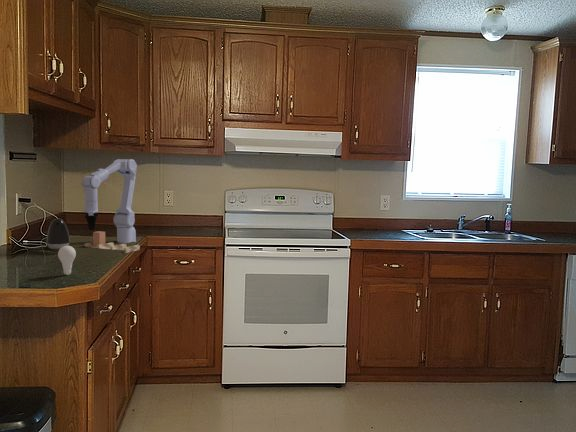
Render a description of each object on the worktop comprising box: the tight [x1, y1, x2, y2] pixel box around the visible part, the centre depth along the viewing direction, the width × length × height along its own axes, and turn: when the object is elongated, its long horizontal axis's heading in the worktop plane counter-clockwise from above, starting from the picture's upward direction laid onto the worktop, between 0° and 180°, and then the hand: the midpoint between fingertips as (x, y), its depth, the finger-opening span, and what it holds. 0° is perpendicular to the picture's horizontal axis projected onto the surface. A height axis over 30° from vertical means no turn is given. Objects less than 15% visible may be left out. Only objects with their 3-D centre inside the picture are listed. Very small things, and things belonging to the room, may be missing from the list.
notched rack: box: [84, 241, 141, 254], centre depth 246 cm, size 10×25×2 cm, turn 68°
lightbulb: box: [57, 245, 77, 276], centre depth 187 cm, size 6×6×11 cm
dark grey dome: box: [46, 217, 71, 250], centre depth 241 cm, size 10×10×15 cm
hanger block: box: [92, 230, 106, 247], centre depth 249 cm, size 4×4×7 cm
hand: (92, 229), depth 243 cm, fingers open, 7 cm apart
